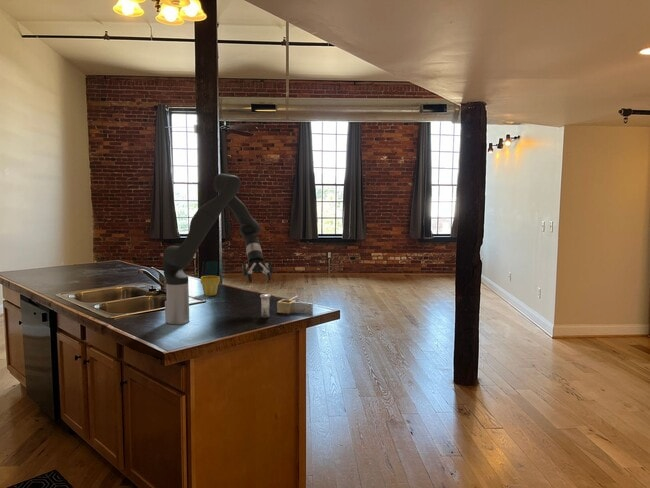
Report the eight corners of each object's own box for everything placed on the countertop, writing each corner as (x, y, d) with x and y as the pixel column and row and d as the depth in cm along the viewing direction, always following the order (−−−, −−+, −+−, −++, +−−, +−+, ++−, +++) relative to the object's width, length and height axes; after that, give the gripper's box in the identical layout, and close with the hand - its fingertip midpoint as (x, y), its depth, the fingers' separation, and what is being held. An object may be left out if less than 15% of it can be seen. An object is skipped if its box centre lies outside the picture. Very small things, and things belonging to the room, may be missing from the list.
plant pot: (218, 291, 276) (217, 274, 275) (221, 295, 267) (221, 277, 266) (199, 293, 272) (199, 276, 271) (202, 296, 263) (202, 279, 262)
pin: (258, 317, 220) (258, 295, 219) (263, 314, 224) (263, 293, 223) (267, 318, 218) (267, 296, 217) (272, 315, 223) (272, 294, 222)
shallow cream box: (277, 312, 229) (277, 302, 228) (291, 305, 244) (291, 295, 244) (309, 315, 223) (309, 305, 223) (322, 307, 239) (322, 297, 238)
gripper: (241, 250, 235) (245, 277, 225) (269, 249, 240) (275, 275, 230) (239, 259, 240) (243, 286, 231) (267, 258, 245) (273, 284, 236)
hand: (259, 281), depth 230 cm, fingers open, 8 cm apart
